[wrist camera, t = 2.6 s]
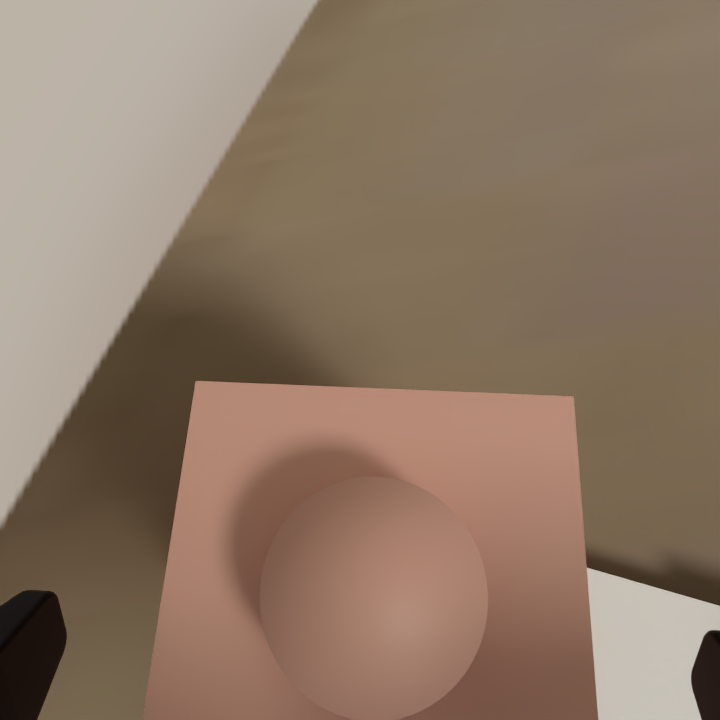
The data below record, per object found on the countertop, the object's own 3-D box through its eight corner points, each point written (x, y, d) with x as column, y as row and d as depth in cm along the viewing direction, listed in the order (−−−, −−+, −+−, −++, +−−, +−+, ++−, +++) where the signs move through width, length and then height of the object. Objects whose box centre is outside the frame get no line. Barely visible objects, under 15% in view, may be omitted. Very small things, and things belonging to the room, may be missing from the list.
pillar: (469, 699, 15) (642, 907, 5) (275, 687, 16) (91, 864, 6) (466, 501, 17) (594, 376, 7) (292, 492, 17) (176, 360, 7)
